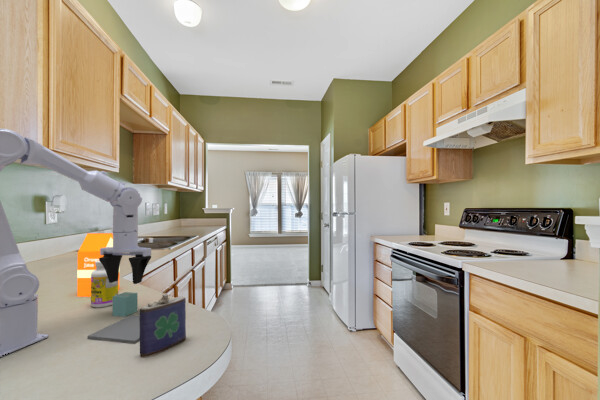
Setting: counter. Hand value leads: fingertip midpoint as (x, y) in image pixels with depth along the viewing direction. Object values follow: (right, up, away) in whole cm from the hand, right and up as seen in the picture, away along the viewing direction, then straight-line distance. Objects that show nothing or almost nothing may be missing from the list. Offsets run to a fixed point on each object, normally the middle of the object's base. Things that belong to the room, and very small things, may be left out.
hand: (125, 282), depth 75 cm
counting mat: (+8, -8, -10) cm, 15 cm away
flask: (+20, -8, -19) cm, 28 cm away
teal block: (0, -8, 0) cm, 8 cm away
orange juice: (-20, -9, +18) cm, 29 cm away
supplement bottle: (-11, -9, +7) cm, 15 cm away
